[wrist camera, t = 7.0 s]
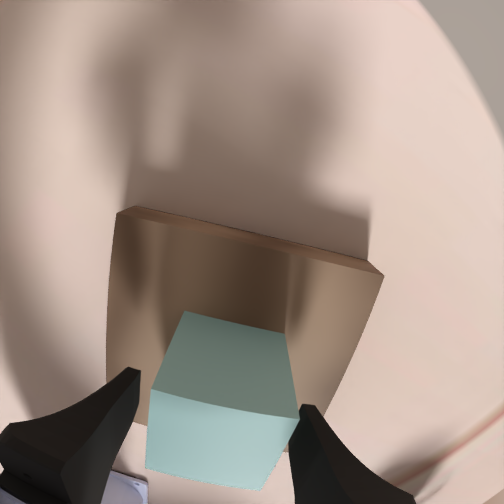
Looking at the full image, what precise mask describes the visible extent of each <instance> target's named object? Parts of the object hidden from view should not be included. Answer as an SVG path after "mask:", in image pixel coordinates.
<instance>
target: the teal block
mask: <svg viewBox="0 0 504 504" xmlns="http://www.w3.org/2000/svg"><path fill="white" fill-rule="evenodd" d="M299 420H300V417H299V411H298V406H297V400H296V394H295V388H294V383H293V377H292V371H291V365H290V360H289V354H288V349H287V343H286V338H285V334H283V333H278V332H274V331H269V330H264V329H260V328H255V327H251V326H246V325H242V324H237V323H233V322H229V321H224V320H220V319H216V318H212V317H208V316H204V315H200V314H196V313H192V312H188V311H184V313H183V315H182V317H181V320H180V322H179V324H178V326H177V329H176V331H175V333H174V336H173V338H172V340H171V343H170V345H169V347H168V350H167V352H166V354H165V357H164V359H163V361H162V364H161V366H160V368H159V371H158V373H157V375H156V378H155V380H154V383H153V385H152V387H151V393H150V404H149V415H148V428H147V442H146V460H145V468H147V469H150V470H154V471H157V472H161V473H165V474H169V475H173V476H177V477H181V478H186V479H190V480H195V481H200V482H205V483H210V484H216V485H222V486H228V487H235V488H242V489H250V490H258V491H260V490H261V489H262V487H263V485H264V484H265V482H266V480H267V479H268V477H269V475H270V474H271V472H272V470H273V468H274V467H275V465H276V463H277V461H278V459H279V458H280V456H281V454H282V452H283V450H284V449H285V447H286V445H287V443H288V441H289V439H290V437H291V435H292V434H293V432H294V430H295V428H296V426H297V424H298V422H299Z"/></svg>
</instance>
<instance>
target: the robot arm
mask: <svg viewBox="0 0 504 504" xmlns="http://www.w3.org/2000/svg"><path fill="white" fill-rule="evenodd" d="M140 381H141V370H138V369H135V368H131V367H126V368H125V369H124V370H123V371H122V372H120V373H119V374H118V375H117V376H116V377H114V378H113V379H112V380H111V381H109V382H108V383H107V384H105V385H104V386H103V387H101V388H100V389H99V390H97V391H96V392H94V393H93V394H91V395H90V396H88V397H87V398H85V399H83V400H82V401H80V402H78V403H76V404H74V405H72V406H70V407H68V408H66V409H64V410H61V411H59V412H56V413H54V414H51V415H48V416H45V417H41V418H37V419H33V420H29V421H22V422H16V423H10V424H9V425H8V426H7V427H6V428H5V429H4V430H3V431H2V432H1V434H0V463H1V465H2V466H3V468H4V470H3V472H2V473H1V474H0V504H148V483H147V482H145V481H143V480H140V479H136V478H133V477H130V476H126V475H123V474H120V473H117V472H114V471H111V468H112V465H113V462H114V460H115V458H116V455H117V453H118V451H119V449H120V447H121V445H122V443H123V441H124V439H125V437H126V435H127V433H128V431H129V429H130V427H131V425H132V422H133V420H134V417H135V414H136V411H137V408H138V405H139V400H140ZM299 417H300V420H299V422H298V424H297V426H296V428H295V430H294V432H293V434H292V435H291V437H290V439H289V441H288V452H289V459H290V466H291V473H292V479H293V486H294V494H295V504H416V502H415V500H414V497H413V495H411V494H409V493H407V492H405V491H403V490H401V489H399V488H397V487H395V486H393V485H391V484H390V483H388V482H386V481H385V480H383V479H382V478H380V477H379V476H377V475H376V474H375V473H374V472H372V471H371V470H370V469H368V468H367V467H366V466H365V465H364V464H362V463H361V462H360V461H359V460H358V459H357V458H356V457H355V456H354V455H353V454H352V453H351V452H350V451H349V450H348V449H347V447H346V446H345V445H344V444H343V443H342V442H341V440H340V439H339V438H338V437H337V435H336V434H335V433H334V431H333V430H332V429H331V427H330V426H329V425H328V423H327V422H326V420H325V419H324V417H323V416H322V415H321V413H320V412H319V410H318V409H317V407H316V406H315V405H311V404H302V405H301V407H300V409H299Z"/></svg>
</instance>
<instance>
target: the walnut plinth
mask: <svg viewBox="0 0 504 504" xmlns="http://www.w3.org/2000/svg"><path fill="white" fill-rule="evenodd" d="M383 279H384V275H383V274H382V273H381V272H380V271H379V270H377V269H376V268H375V267H374V266H373V265H372V264H371V263H370V262H368V261H366V260H362V259H358V258H354V257H350V256H346V255H342V254H338V253H334V252H330V251H326V250H322V249H318V248H314V247H310V246H306V245H302V244H298V243H294V242H289V241H285V240H281V239H277V238H273V237H269V236H264V235H260V234H256V233H252V232H248V231H243V230H239V229H235V228H230V227H226V226H222V225H218V224H213V223H209V222H204V221H200V220H196V219H191V218H187V217H183V216H178V215H174V214H169V213H165V212H160V211H156V210H151V209H147V208H142V207H138V206H133V207H131V208H128V209H126V210H123V211H121V212H118V213H117V214H116V221H115V228H114V236H113V245H112V254H111V265H110V276H109V289H108V306H107V332H106V382H107V383H108V382H109V381H111V380H112V379H113V378H114V377H116V376H117V375H118V374H119V373H120V372H122V371H123V370H124V369H125V368H126V367H131V368H135V369H138V370H141V381H140V400H139V405H138V408H137V411H136V414H135V417H134V420H133V422H136V423H139V424H142V425H146V426H148V415H149V404H150V393H151V387H152V385H153V383H154V380H155V378H156V375H157V373H158V371H159V368H160V366H161V364H162V361H163V359H164V357H165V354H166V352H167V350H168V347H169V345H170V343H171V340H172V338H173V336H174V333H175V331H176V329H177V326H178V324H179V322H180V320H181V317H182V315H183V313H184V311H188V312H192V313H196V314H200V315H204V316H208V317H212V318H216V319H220V320H224V321H229V322H233V323H237V324H242V325H246V326H251V327H255V328H260V329H264V330H269V331H274V332H278V333H283V334H285V338H286V343H287V349H288V354H289V360H290V365H291V371H292V377H293V383H294V388H295V394H296V400H297V406H298V411H299V409H300V407H301V405H302V404H311V405H315V406H316V407H317V409H318V410H319V412H320V413H321V415H322V416H324V414H325V412H326V410H327V408H328V406H329V404H330V402H331V400H332V398H333V396H334V394H335V392H336V390H337V388H338V386H339V384H340V382H341V380H342V378H343V376H344V374H345V371H346V369H347V367H348V365H349V363H350V361H351V358H352V356H353V354H354V352H355V349H356V347H357V345H358V342H359V340H360V338H361V335H362V333H363V331H364V328H365V326H366V323H367V321H368V318H369V316H370V313H371V311H372V308H373V306H374V303H375V300H376V298H377V295H378V292H379V290H380V287H381V284H382V282H383ZM283 452H288V443H287V445H286V447H285V449H284V450H283Z"/></svg>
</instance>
